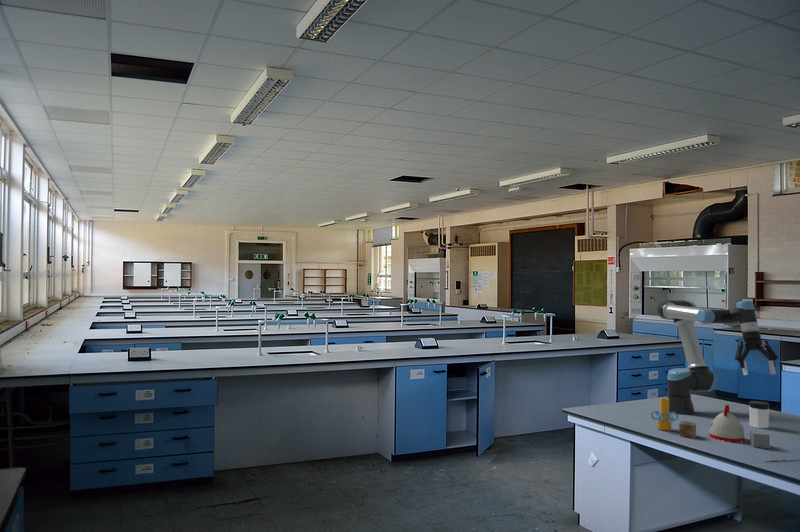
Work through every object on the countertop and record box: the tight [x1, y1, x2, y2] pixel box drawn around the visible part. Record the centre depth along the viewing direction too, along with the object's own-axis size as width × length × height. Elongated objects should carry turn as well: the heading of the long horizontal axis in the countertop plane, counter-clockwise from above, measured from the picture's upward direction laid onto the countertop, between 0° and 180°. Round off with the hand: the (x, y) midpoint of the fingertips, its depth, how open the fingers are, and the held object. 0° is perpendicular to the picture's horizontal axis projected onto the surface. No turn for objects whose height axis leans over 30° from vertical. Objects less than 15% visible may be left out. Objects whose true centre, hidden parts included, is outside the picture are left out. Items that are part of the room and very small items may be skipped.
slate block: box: [749, 429, 771, 450], centre depth 240 cm, size 6×6×6 cm
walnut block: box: [678, 420, 697, 439], centre depth 255 cm, size 6×6×6 cm
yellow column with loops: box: [650, 397, 679, 432], centre depth 266 cm, size 12×10×15 cm
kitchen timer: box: [709, 404, 745, 443], centre depth 253 cm, size 14×14×15 cm
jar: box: [748, 400, 770, 429], centre depth 274 cm, size 9×8×12 cm
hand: (759, 374), depth 269 cm, fingers open, 13 cm apart
